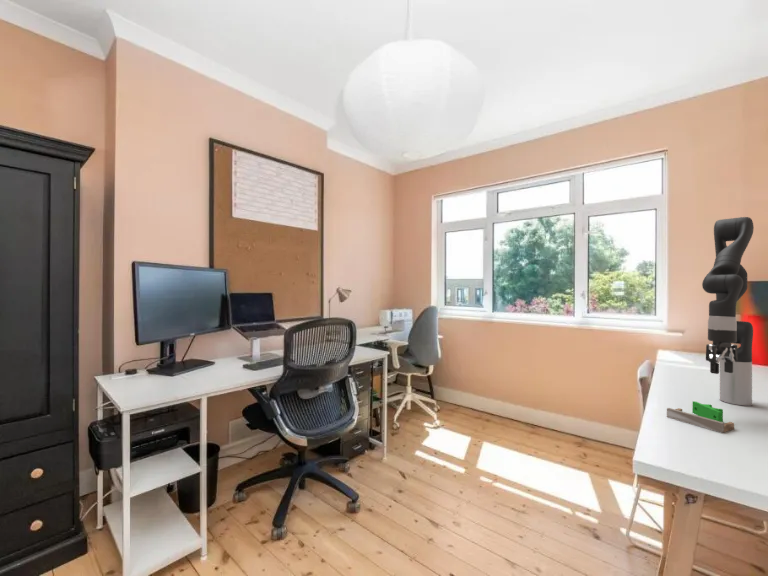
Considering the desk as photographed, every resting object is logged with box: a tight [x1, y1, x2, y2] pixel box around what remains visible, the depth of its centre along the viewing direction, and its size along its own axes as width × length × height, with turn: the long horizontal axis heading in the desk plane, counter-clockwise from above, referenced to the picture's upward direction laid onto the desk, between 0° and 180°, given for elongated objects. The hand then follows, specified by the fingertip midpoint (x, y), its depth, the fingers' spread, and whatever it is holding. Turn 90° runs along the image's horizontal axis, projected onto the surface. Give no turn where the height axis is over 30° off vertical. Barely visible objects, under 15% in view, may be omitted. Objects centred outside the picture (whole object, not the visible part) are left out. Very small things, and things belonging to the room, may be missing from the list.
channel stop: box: [666, 407, 735, 434], centre depth 116 cm, size 8×15×3 cm, turn 24°
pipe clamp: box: [691, 400, 724, 423], centre depth 120 cm, size 11×4×5 cm, turn 173°
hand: (721, 373), depth 124 cm, fingers open, 8 cm apart
